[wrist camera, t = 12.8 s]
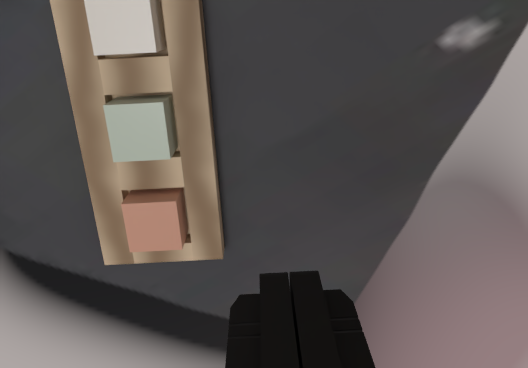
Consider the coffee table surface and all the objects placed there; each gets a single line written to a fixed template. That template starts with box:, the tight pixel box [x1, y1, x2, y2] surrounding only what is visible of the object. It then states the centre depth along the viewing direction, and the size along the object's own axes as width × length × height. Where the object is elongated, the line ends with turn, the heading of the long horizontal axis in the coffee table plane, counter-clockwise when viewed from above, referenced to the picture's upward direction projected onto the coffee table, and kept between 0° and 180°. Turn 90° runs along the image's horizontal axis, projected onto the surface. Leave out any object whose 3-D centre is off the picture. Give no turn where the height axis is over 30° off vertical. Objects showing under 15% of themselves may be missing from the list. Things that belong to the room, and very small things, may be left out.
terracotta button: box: [121, 187, 188, 252], centre depth 43 cm, size 5×5×4 cm
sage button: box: [103, 94, 178, 162], centre depth 39 cm, size 5×5×4 cm
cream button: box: [84, 0, 166, 56], centre depth 36 cm, size 5×5×4 cm
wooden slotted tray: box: [50, 0, 225, 265], centre depth 41 cm, size 12×28×2 cm, turn 3°
